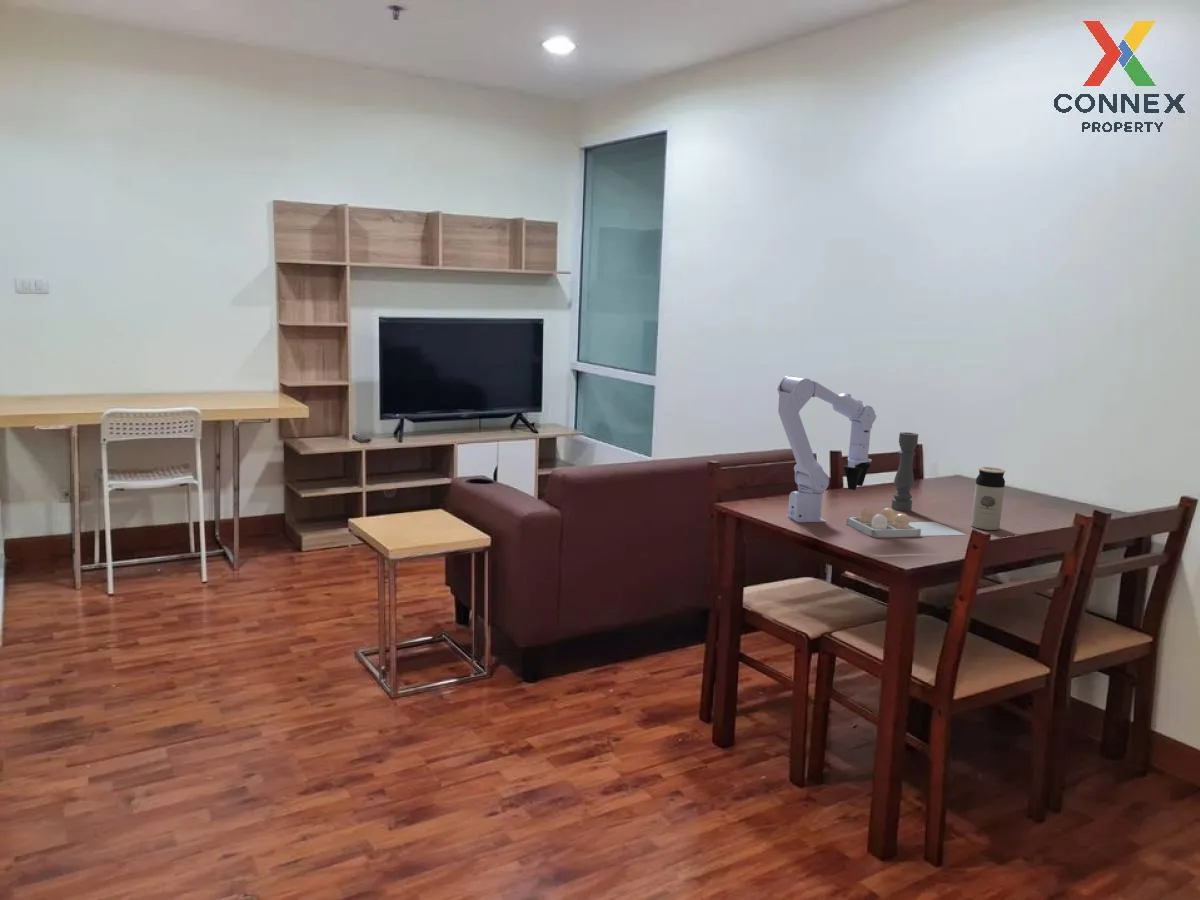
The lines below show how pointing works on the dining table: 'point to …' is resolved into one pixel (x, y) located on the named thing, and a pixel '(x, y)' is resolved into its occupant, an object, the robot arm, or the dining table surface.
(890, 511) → the brown egg far
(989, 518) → the travel mug
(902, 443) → the candle holder
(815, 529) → the dining table surface
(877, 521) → the white egg
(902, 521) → the brown egg back
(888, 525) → the egg carton
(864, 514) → the brown egg left
